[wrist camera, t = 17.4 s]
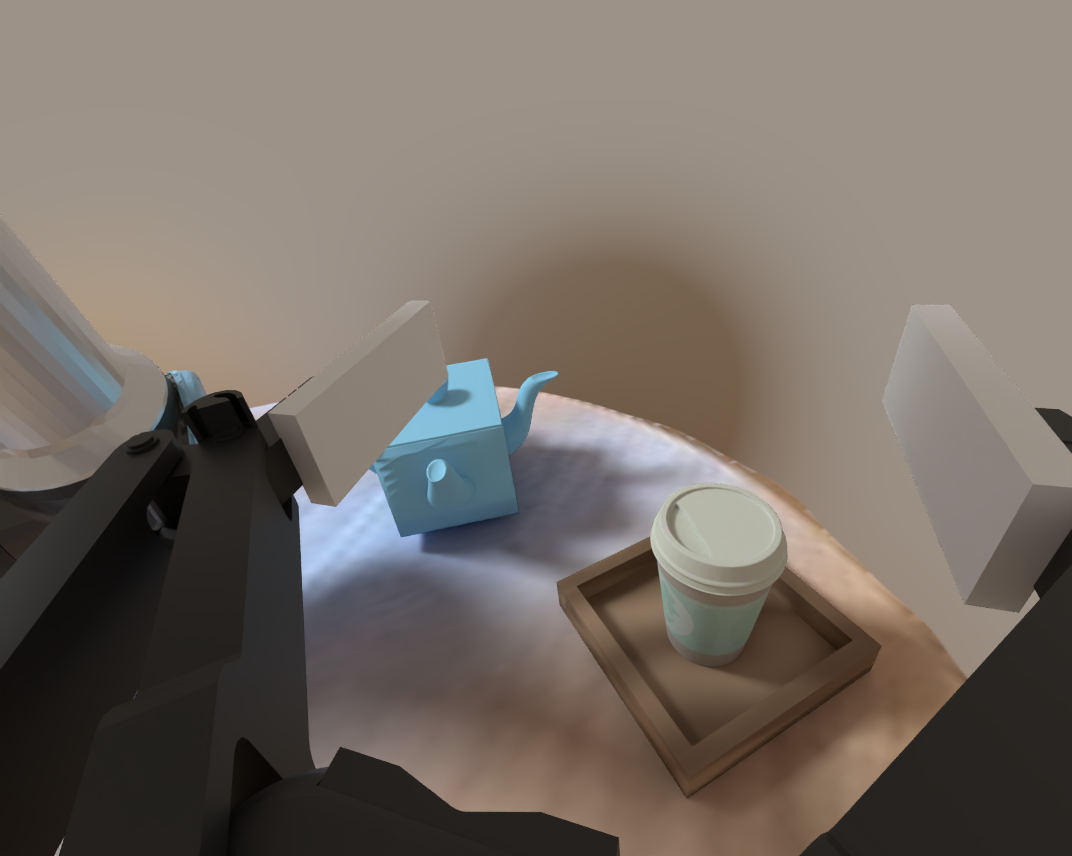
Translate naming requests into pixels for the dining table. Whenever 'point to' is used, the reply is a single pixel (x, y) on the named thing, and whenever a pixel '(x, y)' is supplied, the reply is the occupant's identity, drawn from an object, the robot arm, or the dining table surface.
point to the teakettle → (457, 453)
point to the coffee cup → (715, 568)
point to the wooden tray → (712, 692)
